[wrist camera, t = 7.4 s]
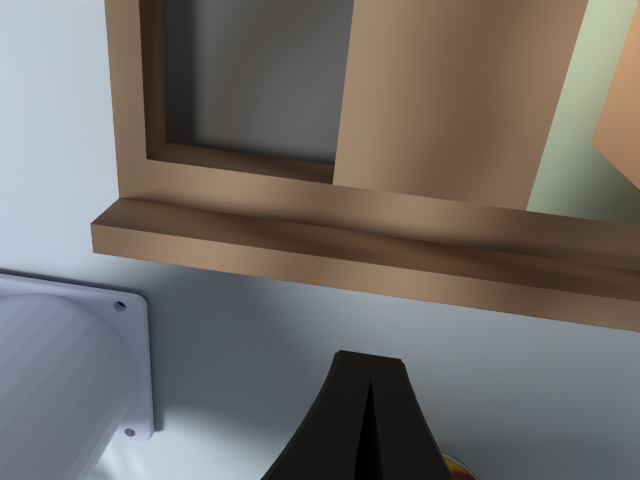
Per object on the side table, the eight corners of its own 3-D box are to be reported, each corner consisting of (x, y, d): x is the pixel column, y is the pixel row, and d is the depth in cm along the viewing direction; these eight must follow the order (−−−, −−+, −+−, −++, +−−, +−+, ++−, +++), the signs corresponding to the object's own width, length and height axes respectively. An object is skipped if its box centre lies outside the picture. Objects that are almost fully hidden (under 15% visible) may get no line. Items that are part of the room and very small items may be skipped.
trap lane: (144, 202, 21) (93, 252, 17) (118, -297, 14) (27, -382, 11) (842, 299, 19) (943, 376, 16) (1164, -204, 13) (1458, -265, 9)
